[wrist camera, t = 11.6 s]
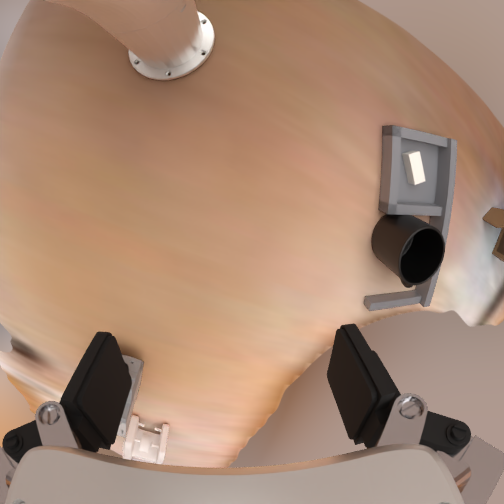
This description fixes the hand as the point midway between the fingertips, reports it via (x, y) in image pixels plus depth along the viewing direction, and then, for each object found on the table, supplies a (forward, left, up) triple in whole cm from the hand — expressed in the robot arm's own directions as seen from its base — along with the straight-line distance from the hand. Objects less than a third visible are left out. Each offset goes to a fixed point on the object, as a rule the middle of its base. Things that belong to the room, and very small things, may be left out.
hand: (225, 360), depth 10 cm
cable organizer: (+58, -26, -31) cm, 71 cm away
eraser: (-7, +29, -30) cm, 42 cm away
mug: (+7, +28, -31) cm, 42 cm away
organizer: (+3, +30, -30) cm, 43 cm away
